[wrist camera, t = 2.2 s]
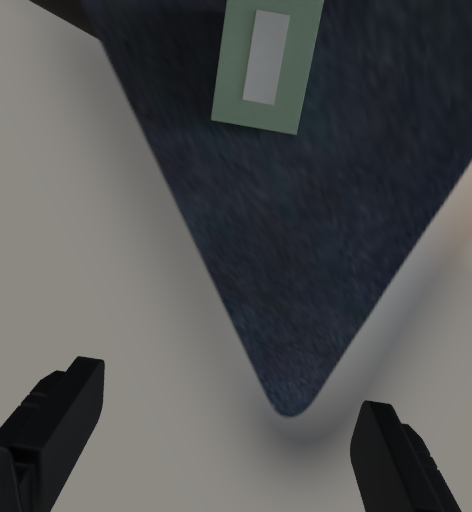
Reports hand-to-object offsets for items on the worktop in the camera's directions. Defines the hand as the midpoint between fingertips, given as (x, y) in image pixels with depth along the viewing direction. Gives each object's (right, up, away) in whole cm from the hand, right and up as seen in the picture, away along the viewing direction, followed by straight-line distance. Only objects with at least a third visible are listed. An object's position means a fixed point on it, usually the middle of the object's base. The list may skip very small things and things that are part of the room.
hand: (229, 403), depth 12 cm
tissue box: (+2, +19, +19) cm, 27 cm away
